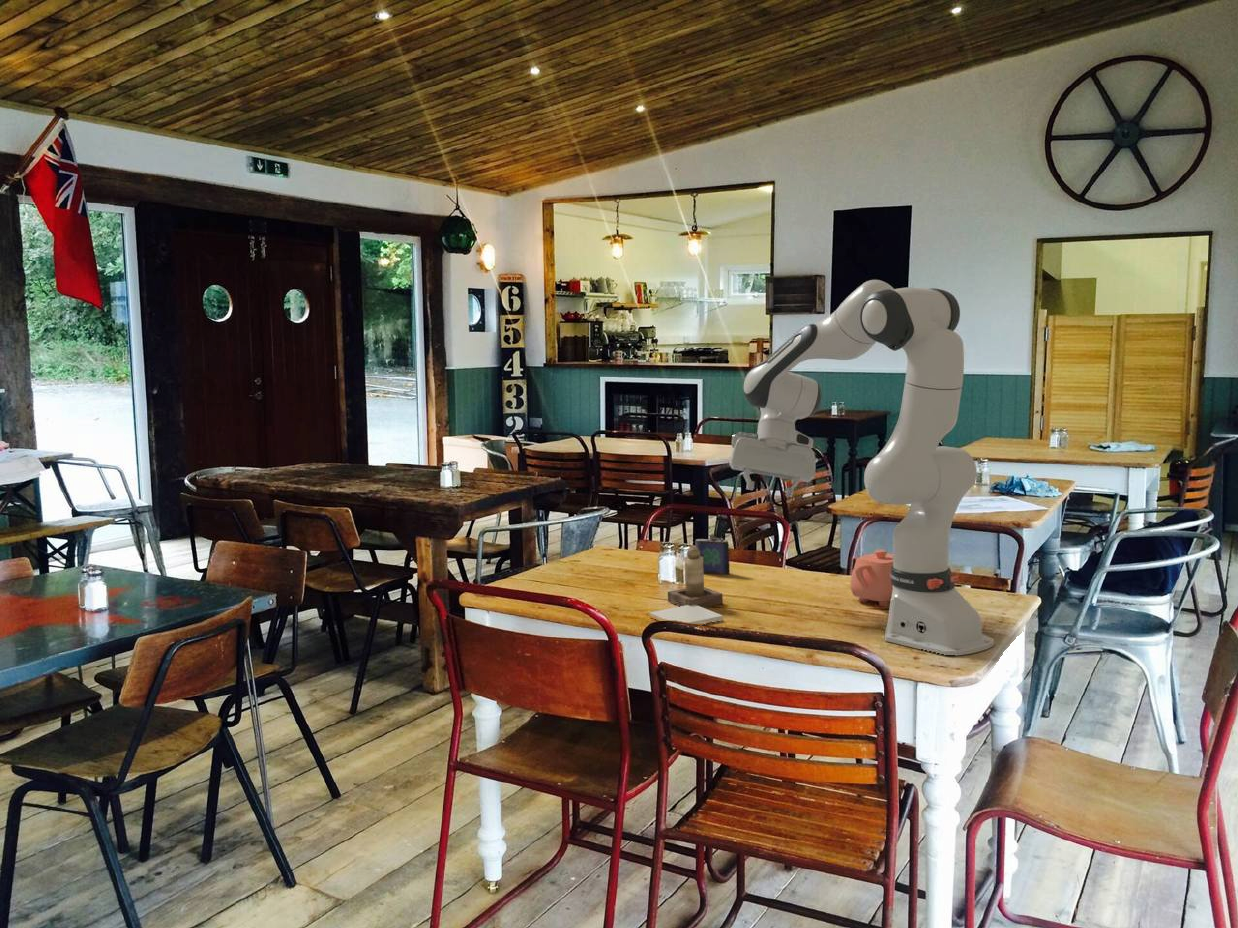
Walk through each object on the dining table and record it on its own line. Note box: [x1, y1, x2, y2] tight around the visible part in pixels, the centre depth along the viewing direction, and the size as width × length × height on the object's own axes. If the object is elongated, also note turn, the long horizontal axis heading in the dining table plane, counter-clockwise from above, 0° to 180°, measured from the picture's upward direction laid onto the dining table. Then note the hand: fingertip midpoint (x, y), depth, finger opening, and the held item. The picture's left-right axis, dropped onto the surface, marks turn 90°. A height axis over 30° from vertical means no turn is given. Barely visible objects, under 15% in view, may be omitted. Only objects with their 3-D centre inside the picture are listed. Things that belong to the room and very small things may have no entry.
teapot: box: [850, 549, 893, 608], centre depth 242 cm, size 20×12×12 cm, turn 131°
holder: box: [667, 586, 724, 609], centre depth 246 cm, size 9×9×2 cm
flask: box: [694, 532, 731, 576], centre depth 274 cm, size 9×3×11 cm, turn 65°
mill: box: [684, 546, 705, 598], centre depth 245 cm, size 4×4×14 cm
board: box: [648, 605, 724, 624], centre depth 233 cm, size 12×12×1 cm
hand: (769, 492), depth 242 cm, fingers open, 8 cm apart
